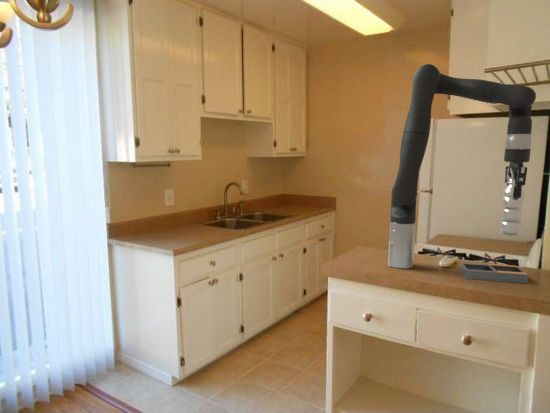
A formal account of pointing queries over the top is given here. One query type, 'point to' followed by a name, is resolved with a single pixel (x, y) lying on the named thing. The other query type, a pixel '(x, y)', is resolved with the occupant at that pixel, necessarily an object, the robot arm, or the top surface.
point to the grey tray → (494, 272)
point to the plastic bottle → (511, 211)
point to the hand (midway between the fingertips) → (513, 196)
